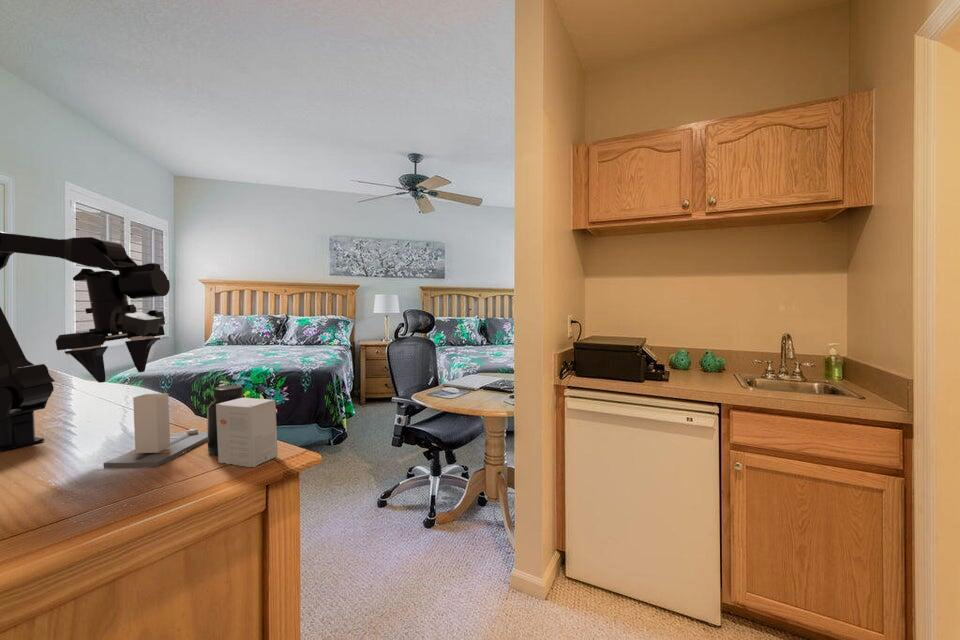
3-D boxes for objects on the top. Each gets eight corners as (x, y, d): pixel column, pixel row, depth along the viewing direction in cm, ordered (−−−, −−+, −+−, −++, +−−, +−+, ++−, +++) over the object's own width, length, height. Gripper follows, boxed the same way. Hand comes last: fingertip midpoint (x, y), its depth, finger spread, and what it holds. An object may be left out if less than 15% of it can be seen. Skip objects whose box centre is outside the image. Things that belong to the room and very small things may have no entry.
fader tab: (148, 447, 77) (146, 393, 77) (170, 446, 78) (168, 393, 77) (135, 452, 74) (133, 397, 74) (158, 452, 75) (156, 397, 74)
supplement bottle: (230, 457, 75) (228, 391, 75) (198, 455, 77) (196, 390, 76) (258, 444, 82) (256, 384, 82) (228, 442, 83) (226, 383, 83)
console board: (174, 436, 88) (174, 428, 88) (217, 435, 88) (217, 428, 88) (103, 467, 71) (103, 458, 71) (157, 466, 71) (156, 457, 71)
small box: (278, 457, 75) (276, 399, 75) (252, 468, 70) (250, 406, 70) (244, 452, 78) (243, 396, 77) (217, 463, 73) (215, 403, 72)
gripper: (105, 299, 75) (120, 384, 76) (182, 296, 93) (193, 364, 95) (45, 305, 75) (61, 390, 76) (134, 300, 94) (145, 369, 95)
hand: (122, 377), depth 86 cm, fingers open, 9 cm apart
